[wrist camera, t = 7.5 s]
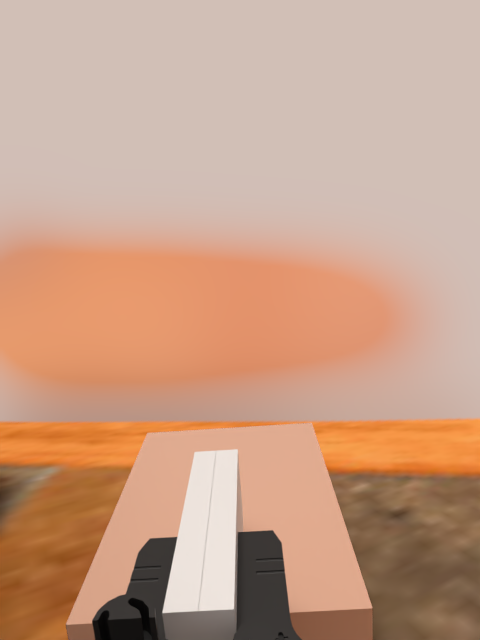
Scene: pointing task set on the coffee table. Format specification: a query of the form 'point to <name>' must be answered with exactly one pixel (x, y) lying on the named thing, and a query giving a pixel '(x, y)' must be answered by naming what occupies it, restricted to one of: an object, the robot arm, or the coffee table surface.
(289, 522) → the peach rectangular block
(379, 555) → the coffee table surface
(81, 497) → the coffee table surface
